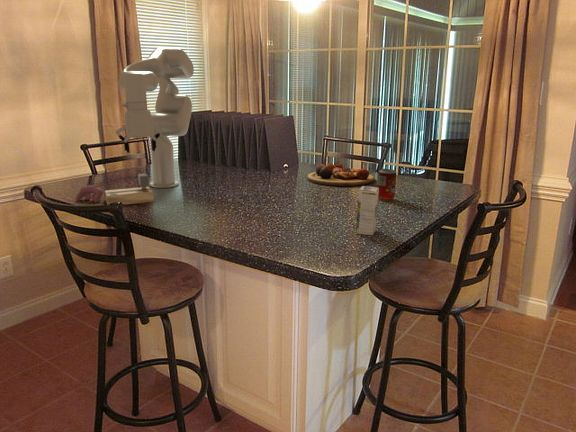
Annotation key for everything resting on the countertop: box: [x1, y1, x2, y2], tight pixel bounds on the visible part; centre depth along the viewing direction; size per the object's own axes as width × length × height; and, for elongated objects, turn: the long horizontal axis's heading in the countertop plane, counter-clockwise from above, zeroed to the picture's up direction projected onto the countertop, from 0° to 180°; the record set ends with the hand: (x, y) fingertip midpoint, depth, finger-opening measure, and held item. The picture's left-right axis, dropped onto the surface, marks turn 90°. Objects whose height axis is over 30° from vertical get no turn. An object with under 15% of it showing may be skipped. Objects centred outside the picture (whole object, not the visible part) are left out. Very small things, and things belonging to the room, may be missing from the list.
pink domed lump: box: [75, 185, 104, 203], centre depth 189 cm, size 10×5×7 cm, turn 72°
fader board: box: [104, 186, 155, 205], centre depth 188 cm, size 9×17×4 cm, turn 115°
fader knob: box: [137, 173, 150, 189], centre depth 189 cm, size 5×3×6 cm, turn 25°
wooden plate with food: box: [306, 161, 375, 187], centre depth 231 cm, size 32×32×8 cm
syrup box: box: [355, 185, 379, 236], centre depth 153 cm, size 6×6×14 cm
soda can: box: [377, 168, 398, 202], centre depth 194 cm, size 7×7×12 cm
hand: (140, 151), depth 187 cm, fingers open, 9 cm apart
